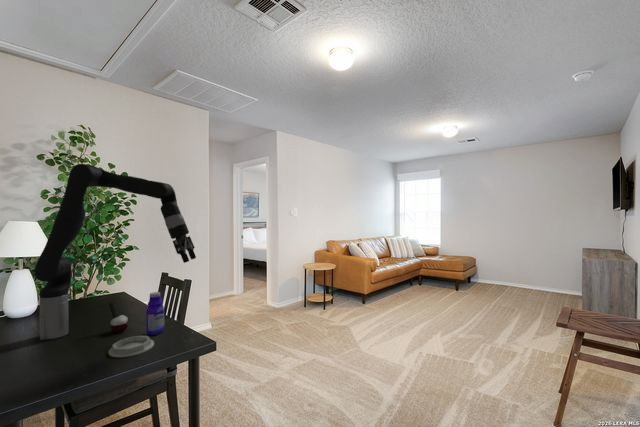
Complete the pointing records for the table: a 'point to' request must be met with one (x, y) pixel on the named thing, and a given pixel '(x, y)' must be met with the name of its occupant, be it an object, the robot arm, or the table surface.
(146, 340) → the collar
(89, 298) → the table surface
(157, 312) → the bottle
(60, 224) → the robot arm
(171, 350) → the table surface
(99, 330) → the table surface
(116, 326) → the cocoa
